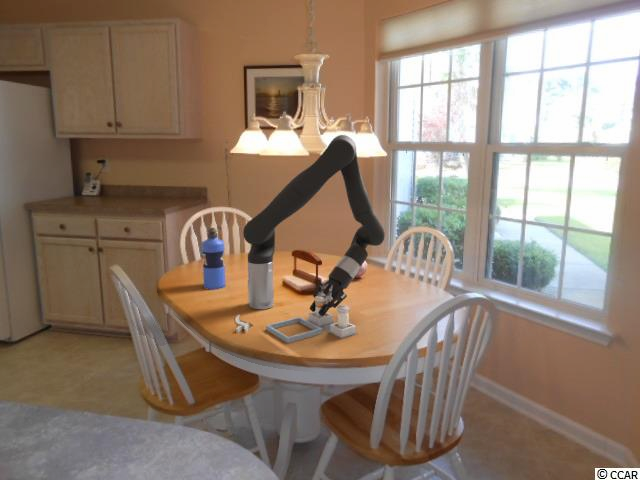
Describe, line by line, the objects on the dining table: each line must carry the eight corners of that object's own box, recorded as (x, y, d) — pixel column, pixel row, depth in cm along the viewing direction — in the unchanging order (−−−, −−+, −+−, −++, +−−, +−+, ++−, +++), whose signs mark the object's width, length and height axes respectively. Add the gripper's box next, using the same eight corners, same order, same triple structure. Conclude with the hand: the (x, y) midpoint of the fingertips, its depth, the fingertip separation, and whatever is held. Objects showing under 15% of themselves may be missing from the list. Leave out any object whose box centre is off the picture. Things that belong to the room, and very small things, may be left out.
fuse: (334, 332, 154) (334, 306, 152) (343, 329, 156) (344, 304, 155) (342, 336, 151) (342, 310, 149) (351, 333, 153) (351, 307, 152)
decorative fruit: (352, 274, 224) (352, 253, 222) (369, 276, 220) (369, 255, 218) (344, 279, 215) (344, 257, 213) (361, 281, 212) (362, 259, 210)
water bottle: (224, 282, 211) (222, 225, 206) (227, 288, 202) (224, 229, 197) (202, 284, 208) (199, 226, 203) (204, 290, 200) (201, 230, 194)
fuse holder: (306, 323, 164) (306, 313, 164) (322, 318, 168) (322, 309, 168) (341, 341, 149) (341, 331, 148) (358, 336, 153) (358, 326, 153)
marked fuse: (312, 320, 164) (312, 296, 162) (321, 318, 166) (321, 294, 164) (319, 324, 161) (319, 299, 159) (328, 321, 163) (328, 297, 161)
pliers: (265, 313, 170) (256, 329, 156) (265, 317, 170) (256, 334, 156) (237, 312, 171) (226, 328, 156) (237, 316, 171) (226, 333, 157)
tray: (266, 332, 156) (266, 325, 156) (299, 323, 164) (299, 316, 163) (287, 346, 146) (287, 338, 146) (322, 336, 154) (322, 328, 153)
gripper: (325, 261, 169) (297, 301, 165) (352, 270, 158) (322, 313, 154) (337, 273, 174) (310, 312, 169) (363, 283, 162) (335, 325, 158)
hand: (316, 312), depth 161 cm, fingers open, 4 cm apart
